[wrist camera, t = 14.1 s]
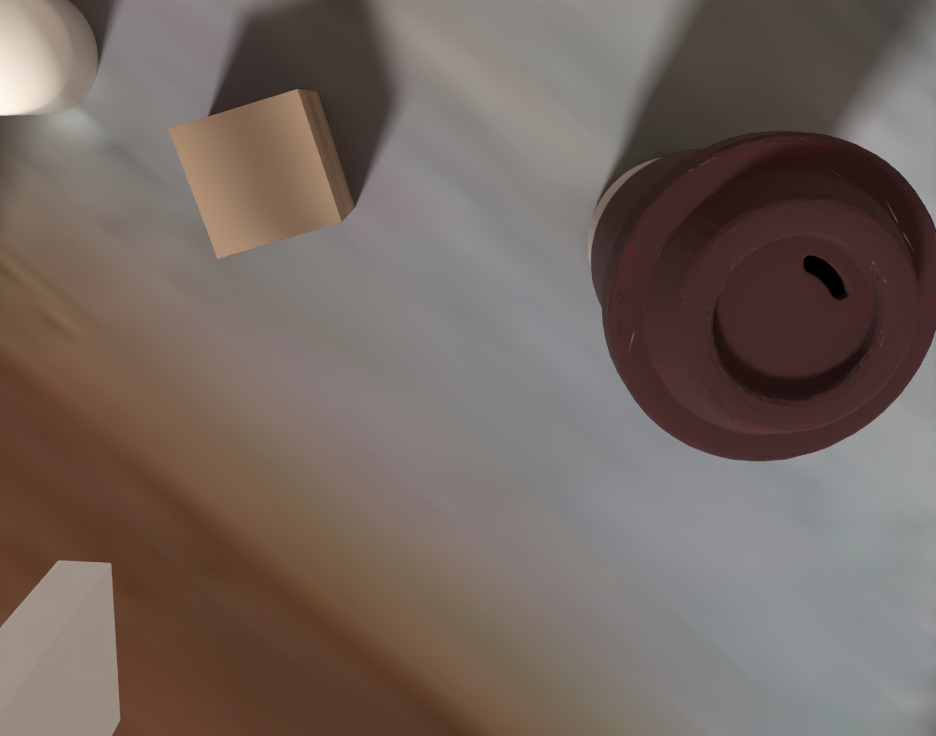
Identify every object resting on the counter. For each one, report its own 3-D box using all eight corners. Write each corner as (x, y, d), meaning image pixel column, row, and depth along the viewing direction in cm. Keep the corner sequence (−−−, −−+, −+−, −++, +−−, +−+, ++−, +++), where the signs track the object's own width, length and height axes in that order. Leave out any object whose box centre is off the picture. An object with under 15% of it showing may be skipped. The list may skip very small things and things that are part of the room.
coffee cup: (583, 371, 40) (659, 520, 26) (531, 159, 37) (583, 192, 23) (795, 315, 39) (994, 436, 25) (759, 95, 36) (959, 88, 22)
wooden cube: (246, 239, 38) (217, 258, 33) (205, 126, 36) (168, 128, 32) (355, 207, 38) (341, 221, 33) (317, 91, 36) (297, 89, 31)
